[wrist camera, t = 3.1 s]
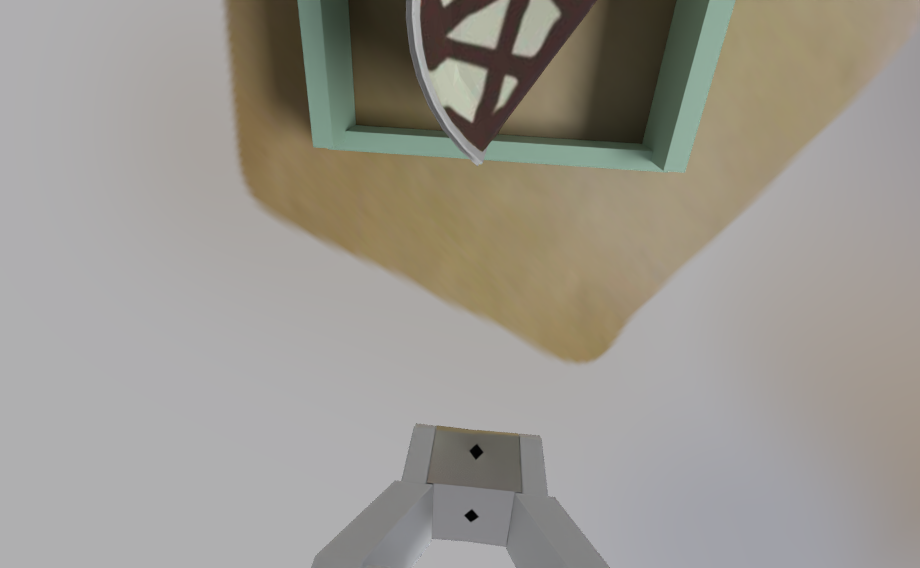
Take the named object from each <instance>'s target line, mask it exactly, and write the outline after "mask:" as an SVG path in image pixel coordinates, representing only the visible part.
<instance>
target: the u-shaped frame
mask: <svg viewBox="0 0 920 568" xmlns="http://www.w3.org/2000/svg"><path fill="white" fill-rule="evenodd" d="M297 1H298V10H299V19H300V29H301V38H302V47H303V56H304V66H305V75H306V84H307V94H308V103H309V112H310V121H311V131H312V140H313V147H318V148H328V149H332V150H347V151H361V152H376V153H391V154H405V155H420V156H435V157H449V158H464V159H469V158H468V157H467V156H466V155H465V154H464V153H463V152H461V151H460V150H459V149H458V147H457V146H456V145H455V144H454V143H453V141H452V140H451V139H450V138H449V136H448V135H447V134H446V133H445V132H444V131H438V130H423V129H407V128H392V127H377V126H361V125H356V119H355V103H354V86H353V70H352V54H351V37H350V21H349V5H348V0H297ZM734 4H735V0H677V1H676V5H675V9H674V14H673V18H672V22H671V26H670V30H669V34H668V39H667V43H666V47H665V51H664V55H663V59H662V64H661V68H660V72H659V76H658V80H657V84H656V89H655V93H654V97H653V101H652V105H651V109H650V114H649V118H648V122H647V126H646V130H645V134H644V139H643V143H642V144H637V143H621V142H606V141H591V140H576V139H560V138H545V137H530V136H514V135H499V134H497V136H496V137H495V138H494V139H493V140H492V141H491V142H490V144H489V145H488V148H487V151H486V154H485V157H484V160H493V161H508V162H523V163H537V164H552V165H567V166H581V167H596V168H611V169H625V170H640V171H655V172H668V171H670V172H685V170H686V167H687V163H688V160H689V157H690V153H691V150H692V146H693V143H694V140H695V136H696V133H697V129H698V126H699V123H700V119H701V116H702V112H703V109H704V106H705V102H706V99H707V95H708V92H709V89H710V85H711V82H712V78H713V75H714V72H715V68H716V65H717V61H718V58H719V55H720V51H721V48H722V44H723V41H724V38H725V34H726V31H727V27H728V24H729V21H730V17H731V14H732V10H733V7H734Z"/></svg>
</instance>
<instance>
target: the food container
mask: <svg viewBox="0 0 920 568" xmlns="http://www.w3.org/2000/svg"><path fill="white" fill-rule="evenodd" d="M596 1H597V0H406V24H407V32H408V41H409V49H410V54H411V57H412V61H413V65H414V69H415V73H416V77H417V80H418V82H419V85H420V87H421V90H422V92H423V94H424V97H425V99H426V102H427V104H428V106H429V108H430V109H431V111H432V113H433V114H434V116H435V118H436V119H437V121H438V123H439V124H440V126H441V128H442V129H443V130H444V132H445V133H446V134H447V135H448V136H449V138H450V139H451V140H452V141H453V143H454V144H455V145H456V146H457V147H458V149H459V150H460V151H461V152H463V153H464V154H465V155H466V156H467V157H468V158H469V159H470V160H471V161H472V162H473V163H475V164H476V165H477V166H478V165H479V164H482V163H483V160H484V157H485V154H486V151H487V148H488V145H489V144H490V142H491V141H492V140H493V139H494V138H495V137H496V136H497V134H498V132H499V130H500V129H501V127H502V126H503V124H504V123H505V122H506V120H507V119H508V117H509V116H510V115H511V113H512V112H513V111H514V109H515V108H516V107H517V105H518V104H519V103H520V102H521V100H522V99H523V98H524V96H525V95H526V94H527V92H528V91H529V90H530V88H531V87H532V86H533V84H534V83H535V82H536V80H537V79H538V78H539V76H540V75H541V74H542V72H543V71H544V70H545V68H546V67H547V66H548V64H549V63H550V62H551V60H552V59H553V58H554V56H555V55H556V54H557V52H558V51H559V50H560V48H561V47H562V46H563V45H564V43H565V42H566V41H567V39H568V38H569V37H570V35H571V34H572V33H573V31H574V30H575V29H576V28H577V26H578V25H579V24H580V22H581V21H582V20H583V18H584V17H585V16H586V14H587V13H588V12H589V11H590V9H591V8H592V6H593V5H594V4H595V2H596Z"/></svg>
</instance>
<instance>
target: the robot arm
mask: <svg viewBox="0 0 920 568" xmlns="http://www.w3.org/2000/svg"><path fill="white" fill-rule="evenodd" d="M431 539H442V540H455V541H468V542H475V543H482V544H490V545H496V546H504V547H506V549H507V551H508V553H509V555H510V557H511V559H512V561H513V563H514V564H515V567H516V568H610V567H609V566H608V565H607V563H606V562H605V561H604V559H603V558H602V557H601V556H600V554H599V553H598V552H597V550H596V549H595V548H594V547H593V545H592V544H591V543H590V542H589V540H588V539H587V538H586V537H585V535H584V534H583V533H582V531H581V530H580V529H579V528H578V526H577V525H576V524H575V522H574V521H573V520H572V519H571V517H570V516H569V515H568V514H567V512H566V511H565V510H564V508H563V507H562V506H561V505H560V503H559V502H558V501H557V500H556V498H555V497H550V496H548V491H547V482H546V474H545V465H544V456H543V447H542V439H541V437H540V436H539V435H527V434H519V435H518V434H517V433H505V432H494V431H482V430H468V429H461V428H453V427H444V426H433V425H425V424H417V423H416V425H415V426H414V429H413V433H412V438H411V441H410V446H409V450H408V455H407V459H406V464H405V468H404V472H403V476H402V481H394V482H393V483H392V484H391V485H390V486H389V487H388V488H387V489H386V490H385V491H384V492H383V493H382V494H380V495H379V496H378V497H377V498H376V499H375V500H374V501H373V502H372V503H371V504H370V505H369V506H368V507H367V508H366V509H365V510H364V511H362V512H361V513H360V514H359V515H358V516H357V517H356V518H355V519H354V520H353V521H352V522H351V523H350V524H349V525H348V526H347V527H346V528H345V529H343V530H342V531H341V532H340V533H339V534H338V535H337V536H336V537H335V538H334V539H333V540H332V541H331V542H330V543H329V544H328V545H327V546H326V547H324V548H323V549H322V550H321V551H320V552H319V553H318V554H317V555H316V556H315V558H314V561H313V564H312V567H311V568H412V567H413V566H414V564H415V563H416V561H417V560H418V559H419V557H420V556H421V555H422V553H423V552H424V551H425V549H426V548H427V547H428V545H429V544H430V543H431Z"/></svg>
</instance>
